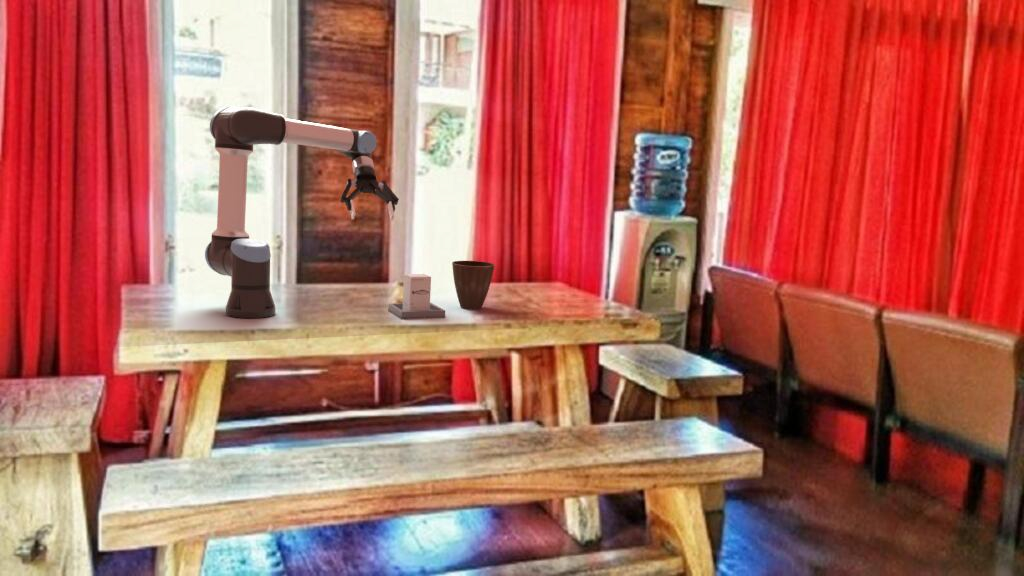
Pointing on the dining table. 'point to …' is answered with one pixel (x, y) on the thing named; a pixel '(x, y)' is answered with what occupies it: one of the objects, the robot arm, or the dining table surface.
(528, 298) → the dining table surface
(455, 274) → the plant pot
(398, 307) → the tray
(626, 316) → the dining table surface
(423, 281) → the supplement box
